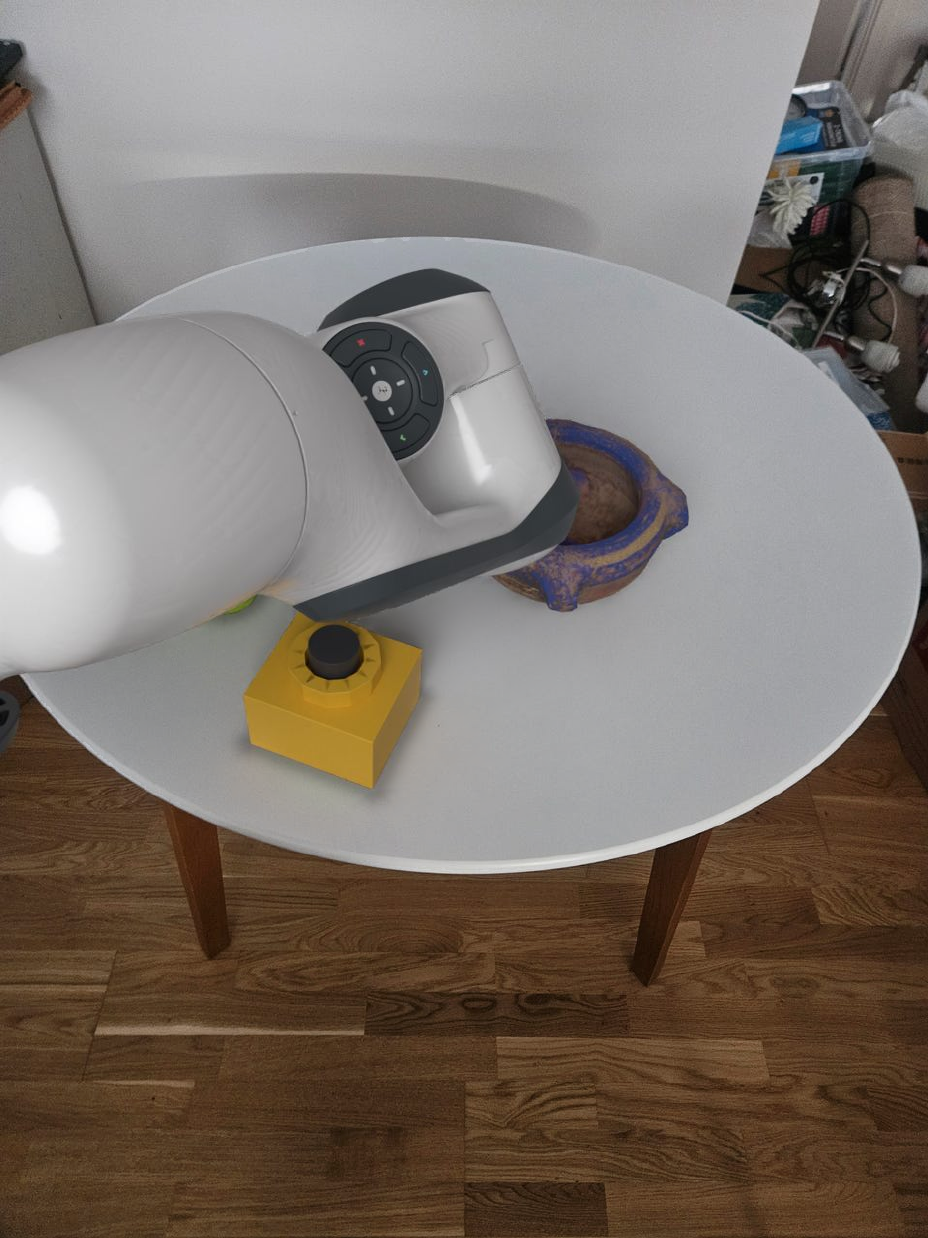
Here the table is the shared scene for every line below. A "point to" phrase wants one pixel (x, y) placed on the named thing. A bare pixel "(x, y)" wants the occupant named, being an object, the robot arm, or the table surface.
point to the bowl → (602, 520)
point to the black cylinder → (334, 651)
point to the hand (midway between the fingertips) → (201, 484)
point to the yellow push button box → (334, 703)
